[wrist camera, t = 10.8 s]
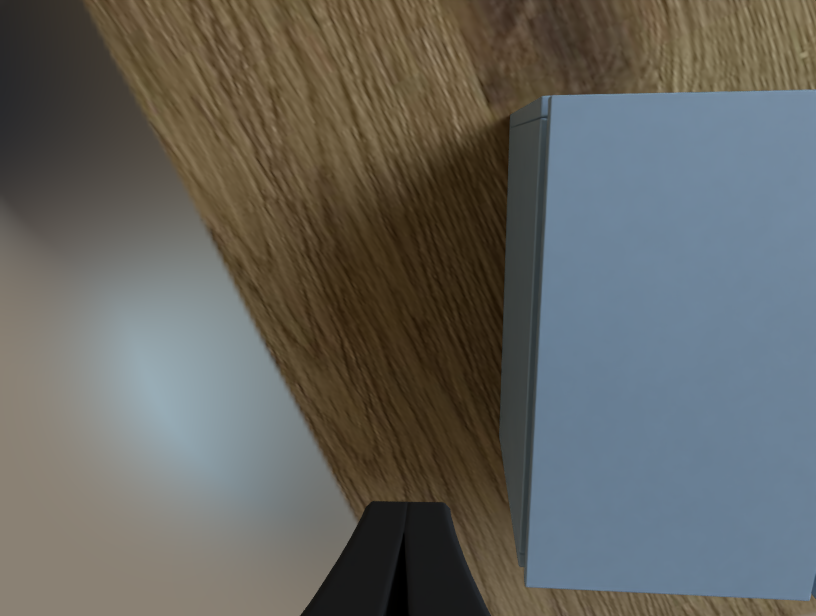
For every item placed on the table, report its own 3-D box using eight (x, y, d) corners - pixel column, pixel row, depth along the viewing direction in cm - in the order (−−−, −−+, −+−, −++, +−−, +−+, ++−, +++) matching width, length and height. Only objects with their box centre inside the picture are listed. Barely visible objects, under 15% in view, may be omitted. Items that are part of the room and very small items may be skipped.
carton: (970, 104, 16) (1358, 74, 9) (886, 448, 19) (1130, 619, 12) (510, 114, 17) (546, 92, 10) (499, 437, 20) (521, 589, 13)
